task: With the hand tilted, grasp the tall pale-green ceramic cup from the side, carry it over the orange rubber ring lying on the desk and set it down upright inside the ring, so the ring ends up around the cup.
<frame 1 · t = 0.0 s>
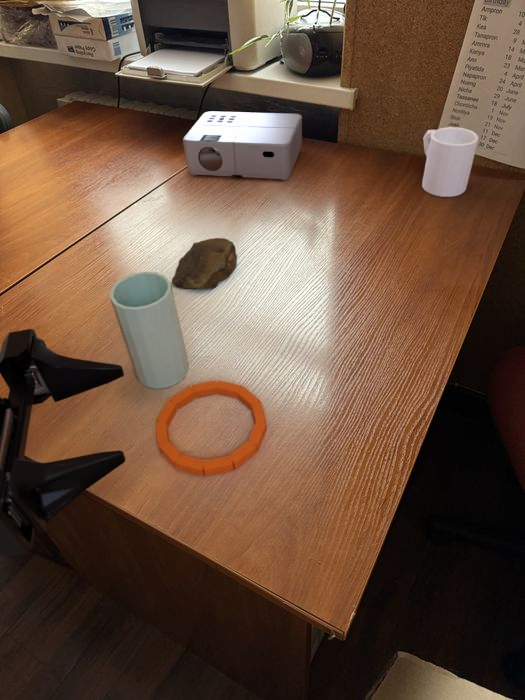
hand: (123, 409, 41), 15 cm above the table, tool horizontal, fingers open, 9 cm apart
cup: (162, 369, 65), on the table
decorative stone: (204, 273, 81), on the table
projector: (246, 163, 109), on the table
ring: (211, 427, 58), on the table
mug: (436, 184, 98), on the table
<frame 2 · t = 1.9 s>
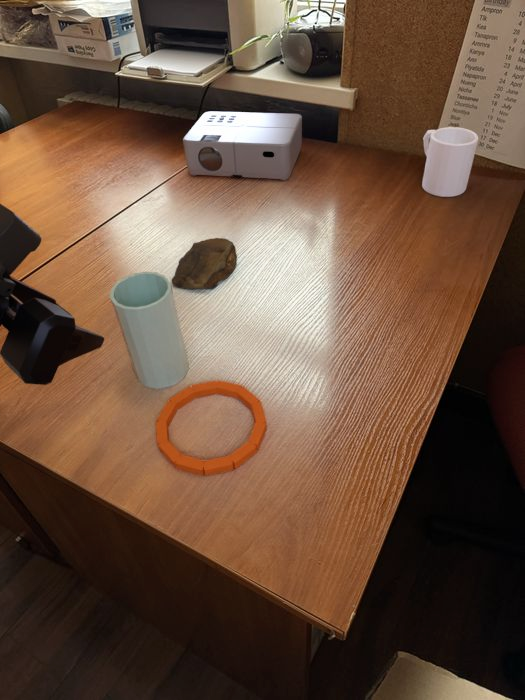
hand: (77, 322, 52), 14 cm above the table, tool tilted 45°, fingers open, 9 cm apart
nothing on the table moved.
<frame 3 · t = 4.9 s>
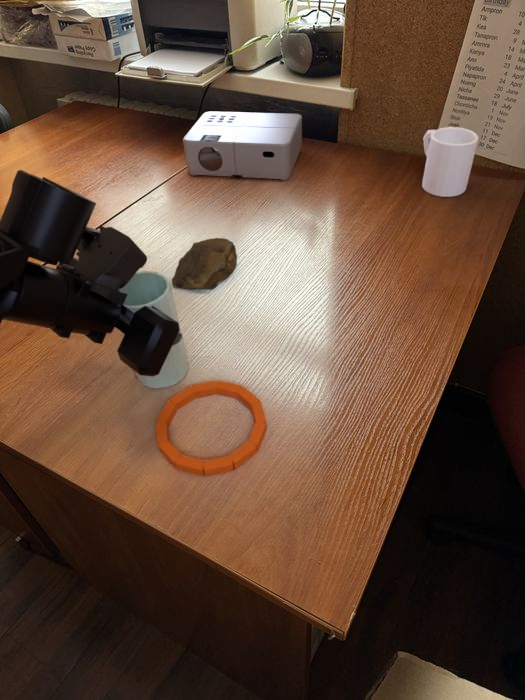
hand: (161, 325, 62), 7 cm above the table, tool tilted 45°, fingers closed on cup, 7 cm apart
cup: (162, 369, 65), on the table, touching gripper
everything else where it was.
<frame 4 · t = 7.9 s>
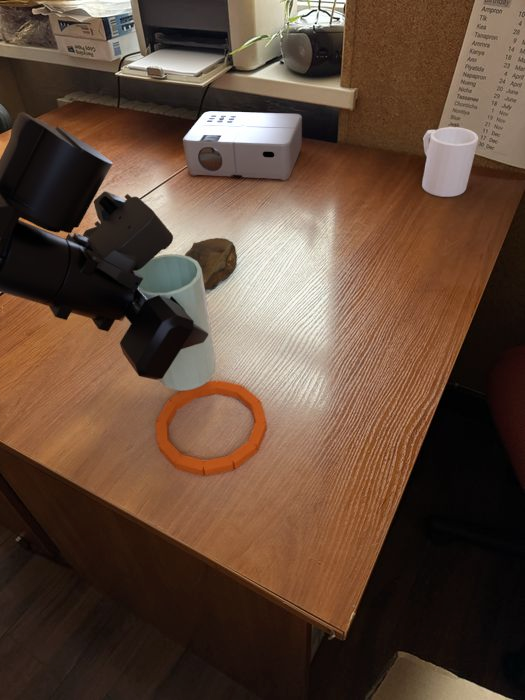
hand: (188, 319, 53), 12 cm above the table, tool tilted 45°, fingers closed on cup, 7 cm apart
cup: (186, 368, 57), point 6 cm above the table, touching gripper
everything else where it was.
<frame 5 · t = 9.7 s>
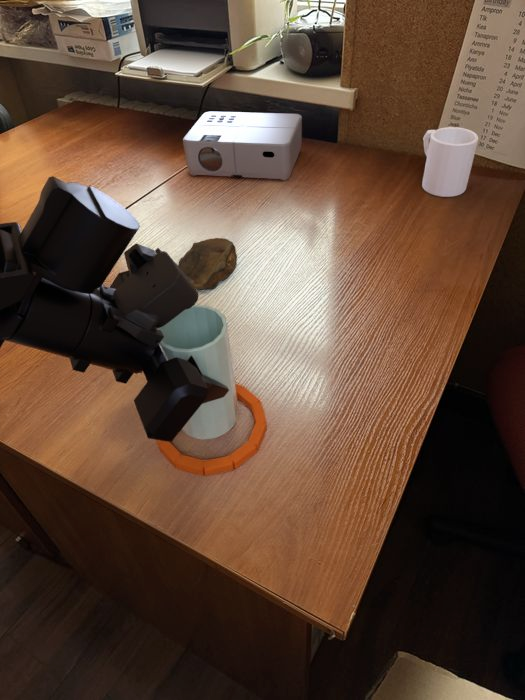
hand: (212, 369, 52), 9 cm above the table, tool tilted 45°, fingers closed on cup, 7 cm apart
cup: (207, 414, 56), point 3 cm above the table, touching gripper
everything else where it was.
when the fingers open (7 cm above the table, at t = 11.1 s): cup stays where it is, resting in ring.
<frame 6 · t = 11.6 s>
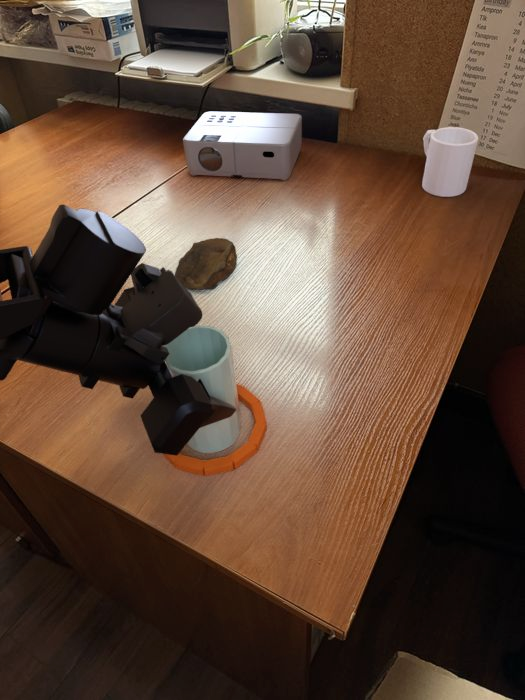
hand: (216, 382, 54), 7 cm above the table, tool tilted 45°, fingers open, 9 cm apart
cup: (211, 428, 58), resting in ring
everything else where it was.
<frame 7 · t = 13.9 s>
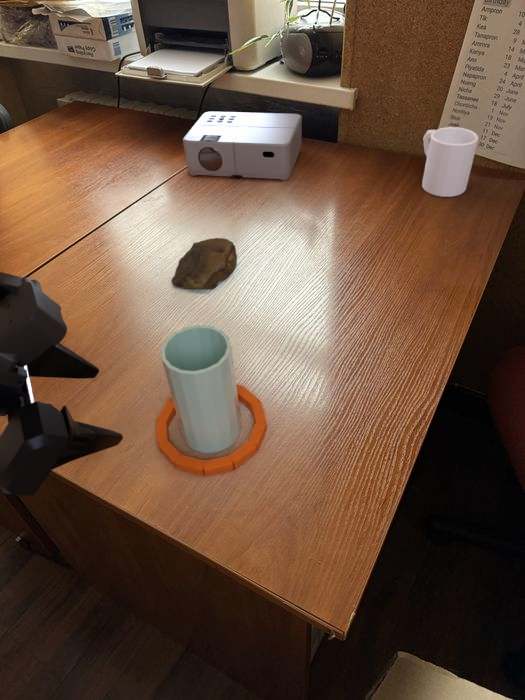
hand: (108, 404, 48), 11 cm above the table, tool tilted 45°, fingers open, 9 cm apart
nothing on the table moved.
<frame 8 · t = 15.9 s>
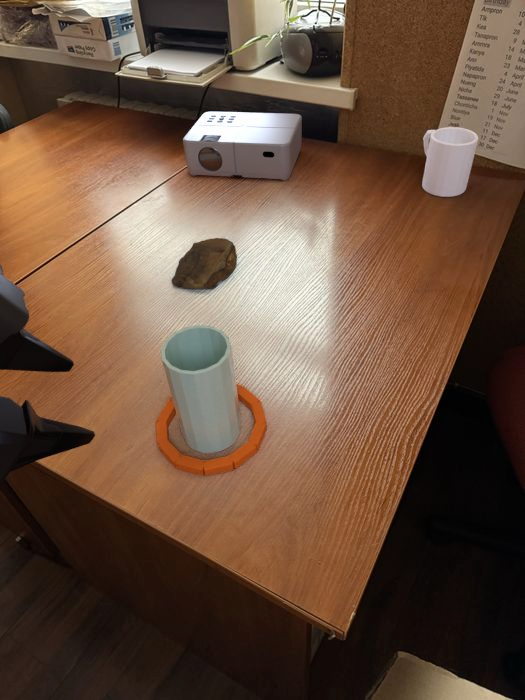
hand: (81, 399, 44), 14 cm above the table, tool tilted 45°, fingers open, 9 cm apart
nothing on the table moved.
at the end: cup 0.1 cm from the ring (horizontally); cup tilted 0°; projector moved 0.2 cm from its start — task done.
